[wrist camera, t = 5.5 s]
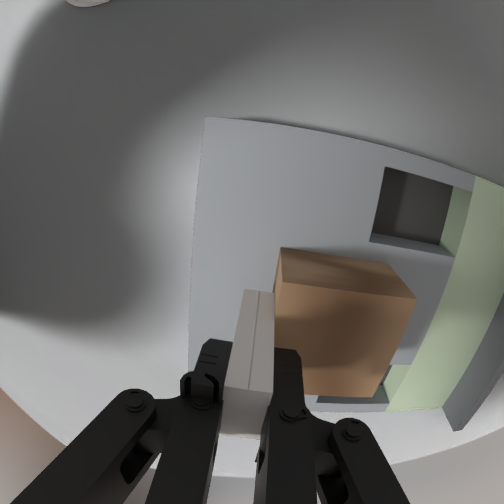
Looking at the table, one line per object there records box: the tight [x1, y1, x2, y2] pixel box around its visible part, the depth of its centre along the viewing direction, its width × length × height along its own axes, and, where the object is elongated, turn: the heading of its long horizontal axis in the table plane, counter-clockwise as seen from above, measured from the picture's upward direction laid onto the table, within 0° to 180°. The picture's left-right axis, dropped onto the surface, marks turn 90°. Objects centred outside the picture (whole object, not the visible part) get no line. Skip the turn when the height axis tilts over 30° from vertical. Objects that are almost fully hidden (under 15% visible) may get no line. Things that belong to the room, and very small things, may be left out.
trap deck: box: [188, 116, 504, 431], centre depth 16 cm, size 22×18×5 cm
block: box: [272, 247, 418, 397], centre depth 14 cm, size 6×6×4 cm
